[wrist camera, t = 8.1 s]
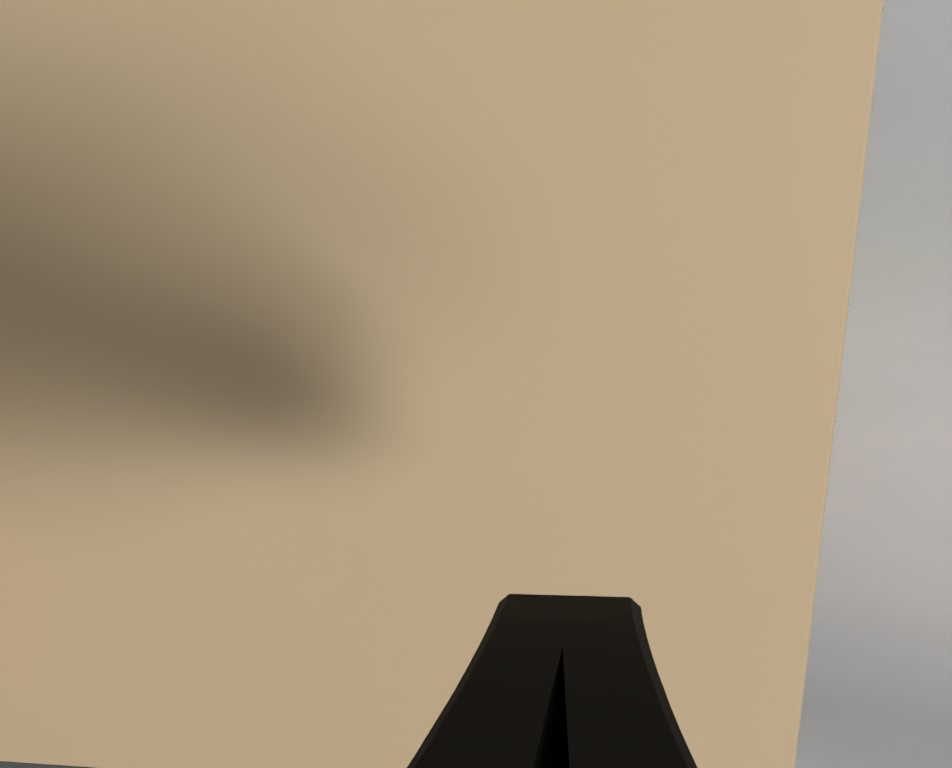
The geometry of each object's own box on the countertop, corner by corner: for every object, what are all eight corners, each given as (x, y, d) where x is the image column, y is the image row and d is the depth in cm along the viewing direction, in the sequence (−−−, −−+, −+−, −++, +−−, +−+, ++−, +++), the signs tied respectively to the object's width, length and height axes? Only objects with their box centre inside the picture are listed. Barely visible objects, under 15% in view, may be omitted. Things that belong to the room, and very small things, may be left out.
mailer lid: (783, 786, 16) (818, 953, 13) (-84, 730, 19) (-201, 859, 16) (908, -362, 8) (1046, -515, 6) (-529, -157, 11) (-875, -196, 9)
